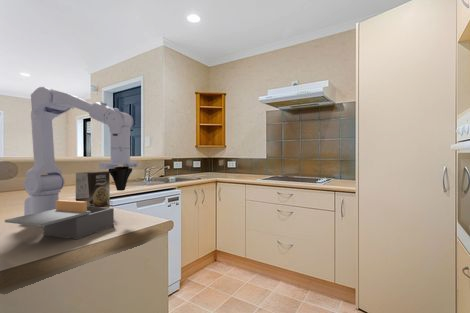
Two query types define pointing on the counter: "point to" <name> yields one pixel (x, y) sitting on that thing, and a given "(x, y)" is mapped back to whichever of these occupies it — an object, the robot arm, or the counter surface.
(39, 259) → the counter surface
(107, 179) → the coffee box
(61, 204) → the box lid
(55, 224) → the grey box
